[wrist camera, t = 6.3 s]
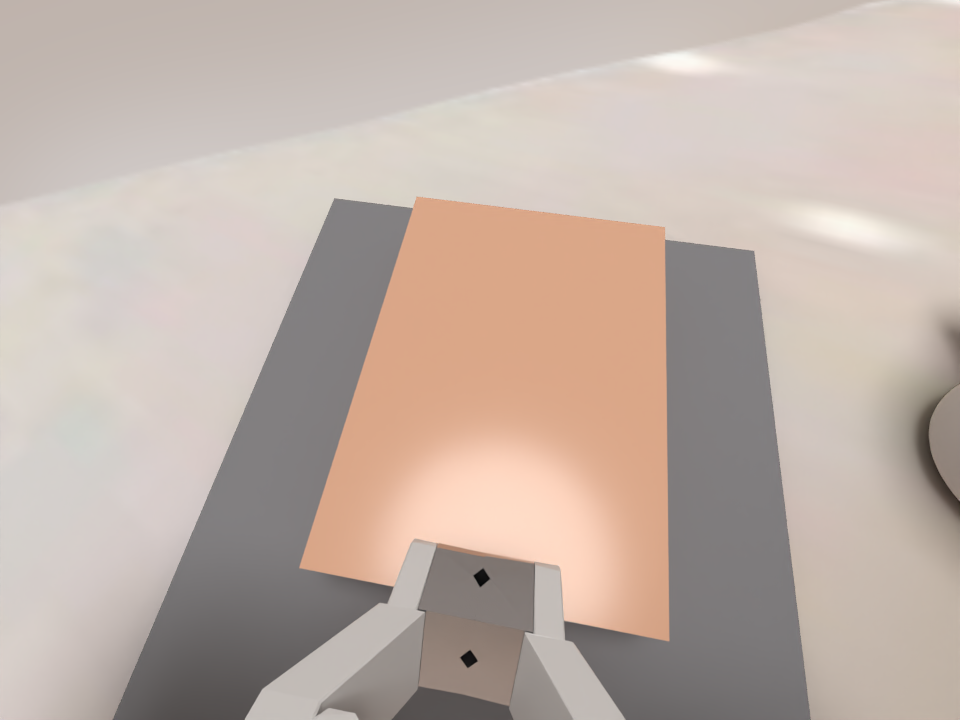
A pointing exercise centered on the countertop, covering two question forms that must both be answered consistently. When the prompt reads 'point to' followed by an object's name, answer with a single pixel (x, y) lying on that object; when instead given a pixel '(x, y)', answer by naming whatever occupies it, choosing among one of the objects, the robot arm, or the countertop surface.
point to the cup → (947, 439)
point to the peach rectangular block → (514, 410)
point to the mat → (340, 600)
